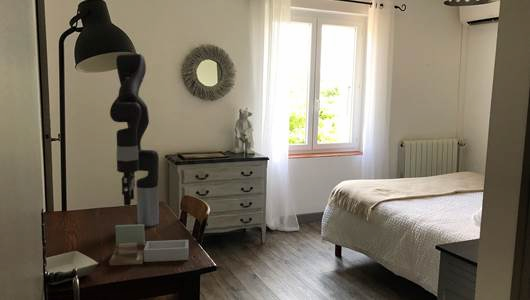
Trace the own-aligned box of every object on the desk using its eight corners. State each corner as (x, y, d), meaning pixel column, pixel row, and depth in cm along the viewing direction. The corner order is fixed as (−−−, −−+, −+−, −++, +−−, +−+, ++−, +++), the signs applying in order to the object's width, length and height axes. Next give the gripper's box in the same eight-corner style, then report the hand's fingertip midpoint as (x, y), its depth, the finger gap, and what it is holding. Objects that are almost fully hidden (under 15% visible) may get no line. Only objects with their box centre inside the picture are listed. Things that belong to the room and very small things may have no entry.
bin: (147, 252, 174) (146, 241, 173) (188, 250, 176) (188, 239, 175) (144, 261, 165) (143, 250, 164) (188, 259, 167) (187, 248, 166)
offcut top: (119, 250, 164) (118, 243, 164) (136, 249, 166) (136, 242, 165) (118, 254, 161) (118, 247, 160) (136, 252, 162) (136, 245, 162)
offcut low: (117, 257, 165) (117, 250, 165) (137, 256, 166) (137, 249, 166) (115, 260, 161) (115, 253, 161) (136, 259, 162) (136, 253, 162)
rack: (116, 251, 174) (116, 242, 174) (146, 250, 176) (146, 241, 176) (109, 265, 161) (109, 255, 161) (142, 263, 163) (142, 254, 162)
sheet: (117, 248, 173) (116, 225, 172) (144, 247, 175) (144, 224, 173) (116, 250, 172) (115, 226, 170) (144, 249, 173) (143, 225, 172)
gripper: (120, 155, 175) (121, 197, 177) (113, 161, 161) (115, 207, 163) (140, 155, 176) (142, 197, 178) (135, 161, 162) (137, 206, 164)
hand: (129, 202), depth 171 cm, fingers open, 8 cm apart
